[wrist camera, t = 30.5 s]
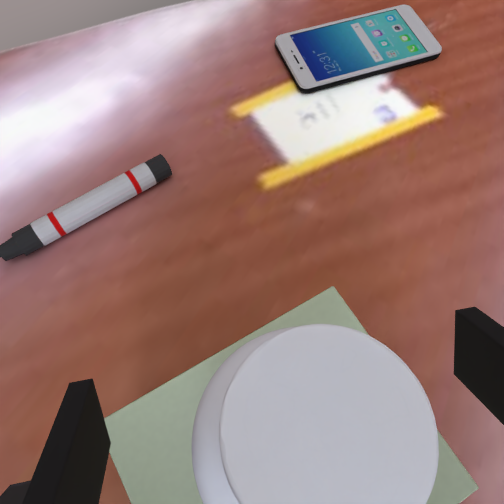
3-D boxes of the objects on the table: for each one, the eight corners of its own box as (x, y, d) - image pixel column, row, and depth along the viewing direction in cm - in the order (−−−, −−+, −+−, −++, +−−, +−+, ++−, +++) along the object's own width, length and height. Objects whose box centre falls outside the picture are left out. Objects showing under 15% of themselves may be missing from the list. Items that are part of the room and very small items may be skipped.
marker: (161, 164, 39) (157, 149, 38) (173, 179, 39) (170, 165, 37) (-11, 257, 35) (-25, 246, 34) (-1, 277, 35) (-15, 266, 33)
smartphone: (445, 51, 44) (302, 89, 42) (442, 58, 45) (301, 96, 43) (408, 2, 47) (272, 35, 45) (405, 10, 48) (272, 42, 46)
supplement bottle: (312, 357, 23) (379, 240, 12) (385, 490, 21) (563, 509, 9) (190, 419, 22) (128, 356, 10) (251, 570, 19) (260, 709, 8)
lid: (331, 290, 26) (333, 285, 25) (471, 487, 21) (479, 487, 21) (101, 424, 22) (96, 422, 22) (214, 686, 18) (212, 695, 18)
